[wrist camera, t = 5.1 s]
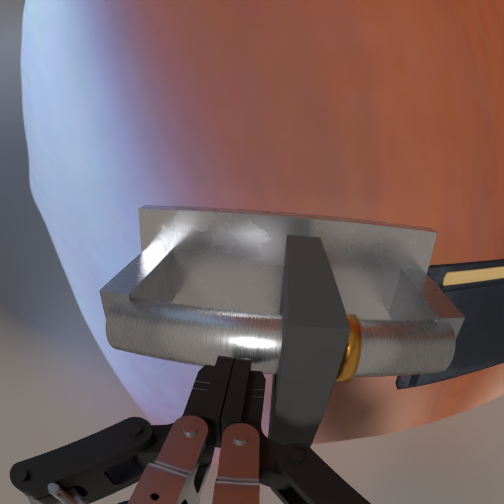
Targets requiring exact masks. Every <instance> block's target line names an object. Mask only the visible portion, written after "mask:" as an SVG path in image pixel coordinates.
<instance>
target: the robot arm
mask: <svg viewBox="0 0 504 504" xmlns="http://www.w3.org/2000/svg"><path fill="white" fill-rule="evenodd" d="M251 362H252V359H246V358H238V357H236V358H235V357H229V356H221V355H218V358H217V361H216V364H215V366H212V365H205V366H204V367H203V368H202V369H201V370H200V371H199V372H198V374H197V377H196V380H195V383H194V386H193V389H192V391H191V394H190V397H189V400H188V402H187V405H186V408H185V411H184V413H183V415H182V417H181V418H179V419H177V420H176V421H175V422H174V423H172V424H168V425H150V423H149V422H148V421H146V420H145V419H143V418H140V417H131V418H128V419H125V420H123V421H121V422H119V423H117V424H115V425H113V426H110V427H108V428H106V429H104V430H101V431H100V432H97V433H95V434H92V435H90V436H88V437H85V438H83V439H80V440H78V441H75V442H73V443H71V444H68V445H66V446H63V447H60V448H58V449H55V450H52V451H50V452H47V453H44V454H42V455H39V456H36V457H33V458H30V459H27V460H24V461H21V462H18V463H16V464H14V465H13V466H12V468H11V470H10V479H11V482H12V483H13V485H14V486H15V487H16V488H17V489H19V490H20V491H21V492H23V493H24V494H25V495H26V496H27V497H28V499H29V501H30V503H31V504H89V503H92V502H94V501H97V500H99V499H102V498H104V497H106V496H109V495H111V494H113V493H115V492H117V491H119V490H122V489H124V488H126V487H128V486H130V485H132V484H134V483H136V482H138V481H139V482H138V484H137V486H136V488H135V490H134V492H133V494H132V496H131V498H130V500H128V501H124V502H121V503H118V504H199V502H200V495H201V492H202V489H203V486H204V483H205V480H206V478H207V474H208V472H209V469H210V466H211V463H212V457H213V453H214V449H215V447H219V448H221V450H220V458H219V467H218V476H217V479H216V481H215V487H214V495H213V503H212V504H259V491H260V490H259V489H260V486H259V483H261V484H263V485H266V486H269V487H271V489H272V491H273V492H274V493H275V494H276V495H277V496H278V497H279V498H280V500H281V501H282V502H283V503H284V504H370V503H369V502H368V501H367V500H366V499H365V498H363V497H362V496H361V495H360V494H359V493H358V492H357V491H355V490H354V489H353V488H352V487H351V486H350V485H349V484H347V483H346V482H345V481H344V480H343V479H342V478H341V477H340V476H339V475H338V474H337V473H335V471H333V470H332V469H331V468H330V467H329V466H328V465H327V464H326V463H325V462H324V461H323V460H322V459H321V458H320V457H319V456H318V455H317V454H316V453H315V452H314V451H313V450H312V449H311V448H310V447H308V446H307V445H305V444H302V443H289V444H286V445H282V444H279V443H276V442H274V441H271V440H270V439H268V438H267V437H266V436H265V435H264V434H263V432H262V429H261V420H262V411H263V402H264V392H265V382H266V379H265V377H264V375H263V373H262V371H253V370H251Z"/></svg>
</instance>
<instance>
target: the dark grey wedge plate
mask: <svg viewBox="0 0 504 504" xmlns="http://www.w3.org/2000/svg"><path fill="white" fill-rule="evenodd" d="M279 314H280V315H283V335H282V345H281V352H280V359H279V366H278V373H277V375H275V374H273V383H272V397H271V410H270V422H269V433H268V439H270V440H271V441H274V442H276V443H279V444H282V445H286V444H289V443H302V444H305V445H307V446H308V447H310V446H311V444H312V442H313V439H314V437H315V434H316V432H317V429H318V427H319V424H320V422H321V419H322V417H323V414H324V411H325V408H326V406H327V403H328V400H329V397H330V395H331V392H332V389H333V386H334V383H335V380H336V377H337V374H338V371H339V368H340V364H341V361H342V358H343V355H344V351H345V348H346V345H347V341H348V338H349V334H350V330H351V328H350V324H349V321H348V318H347V315H346V312H345V308H344V305H343V302H342V299H341V296H340V293H339V290H338V287H337V284H336V281H335V278H334V275H333V272H332V269H331V266H330V263H329V260H328V258H327V255H326V252H325V249H324V246H323V244H322V241H321V238H319V237H307V236H295V235H287V238H286V250H285V260H284V271H283V281H282V291H281V301H280V310H279Z"/></svg>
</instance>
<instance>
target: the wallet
mask: <svg viewBox="0 0 504 504" xmlns="http://www.w3.org/2000/svg"><path fill="white" fill-rule="evenodd" d="M427 275H428V276H429V277H430V278H431V279H432V280H433V281H434V282H435V283H436V284H437V286H438V287H439V288H440V289H441V290H442V291H443V292H444V293H445V295H446V296H447V297H448V298H449V299H450V300H451V302H452V303H453V304H454V305H455V306H456V307H457V309H458V310H459V311H460V312H461V314H462V315H463V316H464V317H465V319H464V321H463V324H462V326H461V328H460V331H459V333H458V335H457V337H456V340H455V342H456V343H455V353H454V357H453V359H452V362H451V364H450V365H449V367H448V368H447V369H446V370H445V371H443V372H437V373H427V374H415V375H402V376H397V380H396V386H397V389H404V388H411V387H416V386H421V385H426V384H431V383H435V382H439V381H443V380H447V379H450V378H454V377H458V376H461V375H465V374H468V373H472V372H475V371H479V370H482V369H485V368H489V367H492V366H495V365H498V364H501V363H504V259H500V260H490V261H479V262H468V263H456V264H444V265H431V266H429V268H428V271H427Z"/></svg>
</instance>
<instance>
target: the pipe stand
mask: <svg viewBox="0 0 504 504" xmlns="http://www.w3.org/2000/svg"><path fill="white" fill-rule="evenodd" d="M139 224H140V237H141V248H142V253H141V254H140V255H138V256H137V257H136V258H135V259H134V260H133V261H131V262H130V263H129V264H128V265H127V266H126V267H125V268H124V269H122V270H121V271H120V272H119V273H118V274H117V275H116V276H115V277H114V278H112V279H111V280H110V281H109V282H108V283H107V284H106V285H105V286H104V287H103V288H102V289H100V290H99V291H100V295H101V300H102V304H103V309H104V313H105V317H106V335H107V339H108V342H109V344H110V345H111V346H112V347H113V348H114V349H118V350H122V351H126V352H130V353H135V354H139V355H144V356H148V357H153V358H158V359H163V360H168V361H174V362H179V363H185V364H191V365H197V366H205V365H212V366H215V364H216V361H217V358H218V355H221V356H229V357H235V358H236V357H238V358H246V359H252V362H251V370H253V371H262V373H263V374H275V375H277V373H278V366H279V359H280V352H281V345H282V335H283V315H280V314H279V310H280V301H281V291H282V281H283V271H284V260H285V250H286V238H287V235H295V236H307V237H319V238H321V241H322V244H323V246H324V249H325V252H326V255H327V258H328V260H329V263H330V266H331V269H332V272H333V275H334V278H335V281H336V284H337V287H338V290H339V293H340V296H341V299H342V302H343V305H344V308H345V312H346V315H347V318H348V321H349V324H350V328H351V330H350V334H349V338H348V341H347V345H346V348H345V351H344V355H343V358H342V361H341V364H340V368H339V371H338V374H337V377H336V380H335V382H350V381H351V380H352V379H353V378H354V377H383V376H402V375H415V374H427V373H437V372H443V371H445V370H446V369H447V368H448V367H449V365H450V364H451V362H452V359H453V357H454V353H455V343H456V342H455V340H456V337H457V335H458V333H459V331H460V328H461V326H462V324H463V321H464V319H465V317H464V316H463V315H462V314H461V312H460V311H459V310H458V309H457V307H456V306H455V305H454V304H453V303H452V302H451V300H450V299H449V298H448V297H447V296H446V295H445V293H444V292H443V291H442V290H441V289H440V288H439V287H438V286H437V284H436V283H435V282H434V281H433V280H432V279H431V278H430V277H429V276H428V275H427V271H428V268H429V264H430V260H431V256H432V252H433V248H434V244H435V240H436V235H437V232H435V231H434V230H432V229H431V228H427V227H420V226H412V225H404V224H396V223H388V222H379V221H370V220H361V219H351V218H342V217H331V216H321V215H309V214H298V213H285V212H272V211H258V210H242V209H225V208H206V207H184V206H155V205H145V206H143V207H141V208H139Z"/></svg>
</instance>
